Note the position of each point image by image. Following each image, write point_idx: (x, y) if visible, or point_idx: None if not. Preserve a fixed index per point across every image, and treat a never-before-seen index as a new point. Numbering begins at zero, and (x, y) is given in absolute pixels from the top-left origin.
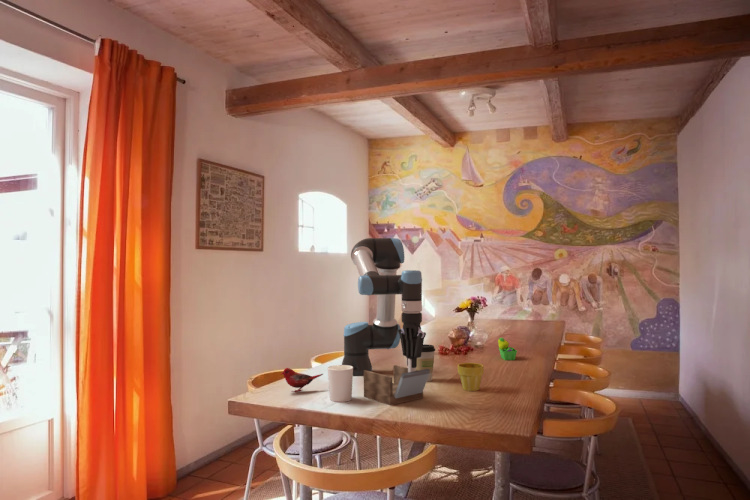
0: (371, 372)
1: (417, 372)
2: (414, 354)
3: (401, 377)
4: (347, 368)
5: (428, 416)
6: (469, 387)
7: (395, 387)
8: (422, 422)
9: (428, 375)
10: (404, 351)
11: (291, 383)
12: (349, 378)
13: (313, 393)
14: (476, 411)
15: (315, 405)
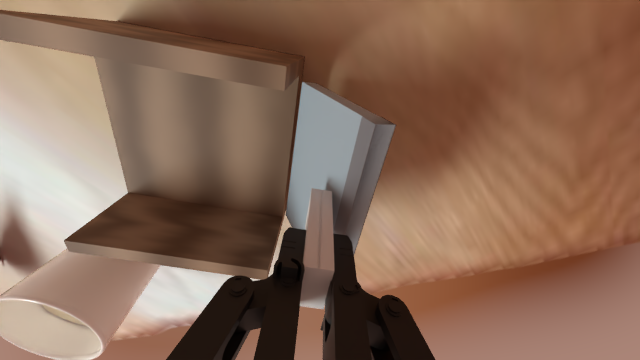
0: (127, 257)
1: (359, 222)
2: (372, 357)
3: None
4: (22, 287)
5: (442, 226)
6: None
7: (181, 111)
8: (448, 265)
9: (370, 113)
10: (238, 352)
11: None
12: (124, 297)
13: (36, 243)
14: (589, 91)
15: (160, 298)
